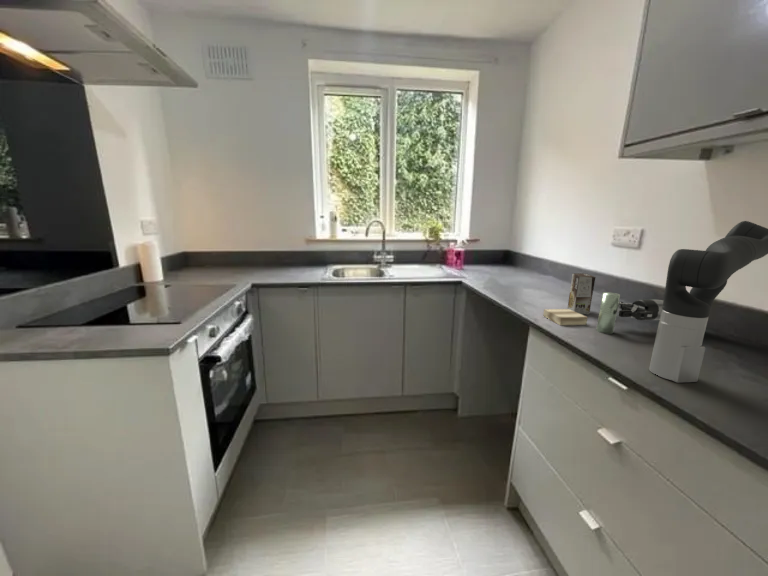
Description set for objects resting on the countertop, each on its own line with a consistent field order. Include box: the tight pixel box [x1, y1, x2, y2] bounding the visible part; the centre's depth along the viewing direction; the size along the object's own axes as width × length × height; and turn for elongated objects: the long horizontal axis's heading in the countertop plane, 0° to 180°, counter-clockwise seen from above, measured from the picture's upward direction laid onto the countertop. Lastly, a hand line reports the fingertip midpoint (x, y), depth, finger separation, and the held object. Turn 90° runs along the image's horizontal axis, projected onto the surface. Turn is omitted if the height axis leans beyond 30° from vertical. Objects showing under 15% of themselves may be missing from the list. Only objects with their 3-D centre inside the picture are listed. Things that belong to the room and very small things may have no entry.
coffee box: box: [567, 272, 596, 315], centre depth 149 cm, size 9×6×16 cm
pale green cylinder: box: [595, 291, 621, 335], centre depth 124 cm, size 5×5×14 cm
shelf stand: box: [542, 308, 589, 326], centre depth 137 cm, size 11×11×3 cm
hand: (610, 310), depth 124 cm, fingers open, 8 cm apart
